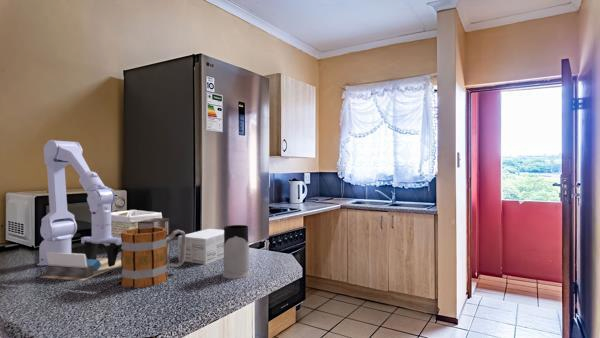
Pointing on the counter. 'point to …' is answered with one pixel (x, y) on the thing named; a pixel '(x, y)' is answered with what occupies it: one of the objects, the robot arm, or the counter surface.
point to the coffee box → (158, 223)
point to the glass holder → (236, 252)
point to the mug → (147, 256)
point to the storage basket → (129, 220)
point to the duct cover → (67, 259)
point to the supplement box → (203, 246)
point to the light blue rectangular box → (93, 264)
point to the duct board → (79, 271)
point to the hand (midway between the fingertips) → (102, 265)
